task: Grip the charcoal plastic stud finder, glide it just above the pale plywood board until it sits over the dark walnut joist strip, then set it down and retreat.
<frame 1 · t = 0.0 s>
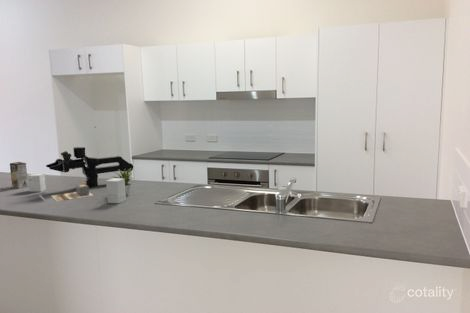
hand: (47, 167, 234), 17 cm above the worktop, tool horizontal, fingers open, 9 cm apart
stud finder: (82, 193, 230), point 1 cm above the worktop, touching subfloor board
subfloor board: (72, 197, 227), on the worktop
house plant: (125, 194, 232), on the worktop
small box: (37, 191, 245), on the worktop
supplement box: (116, 201, 216), on the worktop
coffee box: (20, 187, 257), on the worktop
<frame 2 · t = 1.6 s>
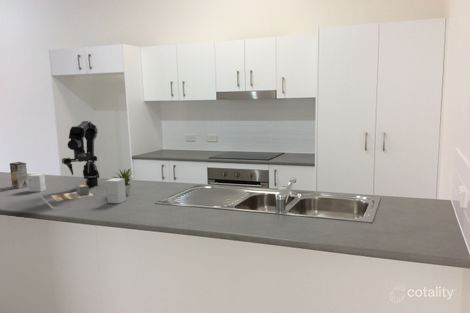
hand: (80, 174, 229), 13 cm above the worktop, tool pointing down, fingers open, 9 cm apart
nothing on the worktop moved.
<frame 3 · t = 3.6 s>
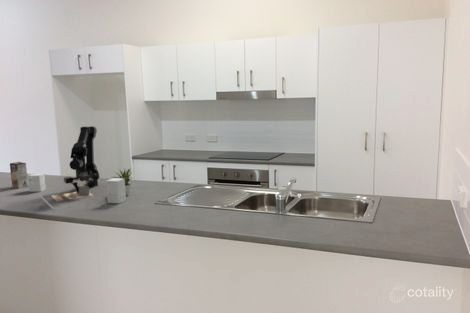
hand: (82, 192, 230), 2 cm above the worktop, tool pointing down, fingers closed on stud finder, 5 cm apart
stud finder: (82, 193, 230), point 1 cm above the worktop, touching gripper, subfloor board
everything else where it was.
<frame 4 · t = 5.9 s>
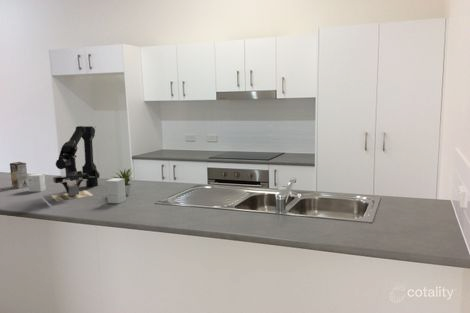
hand: (72, 192, 227), 3 cm above the worktop, tool pointing down, fingers closed on stud finder, 5 cm apart
stud finder: (72, 193, 227), point 2 cm above the worktop, touching gripper
everything else where it was.
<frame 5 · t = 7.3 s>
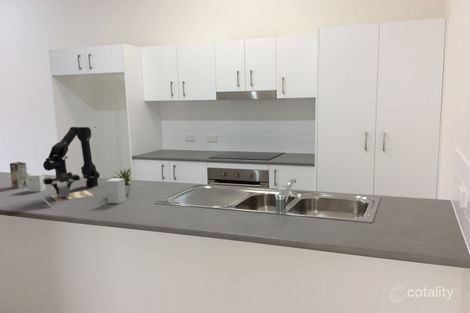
hand: (62, 193, 224), 3 cm above the worktop, tool pointing down, fingers closed on stud finder, 5 cm apart
stud finder: (63, 195, 224), point 2 cm above the worktop, touching gripper
everything else where it was.
when the fingers open (2 cm above the worktop, at t = 8.4 s): stud finder stays where it is, resting on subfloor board.
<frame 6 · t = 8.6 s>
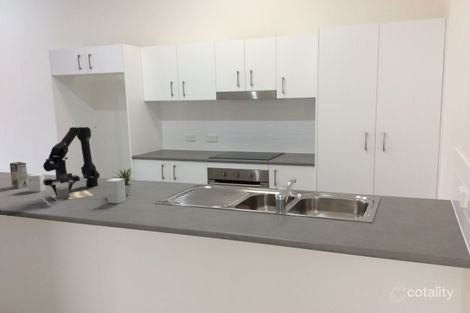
hand: (62, 194, 224), 2 cm above the worktop, tool pointing down, fingers open, 7 cm apart
stud finder: (63, 196, 224), point 1 cm above the worktop, touching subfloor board
everything else where it was.
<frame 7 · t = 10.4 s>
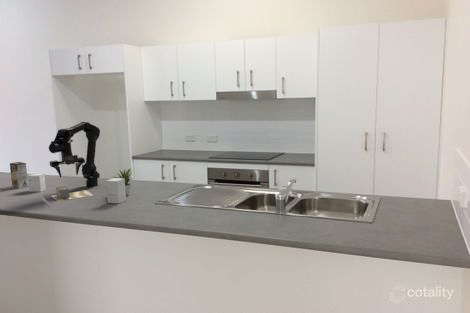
hand: (68, 176, 231), 11 cm above the worktop, tool pointing down, fingers open, 9 cm apart
nothing on the worktop moved.
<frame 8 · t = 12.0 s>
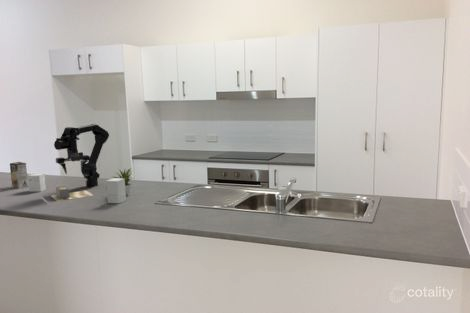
hand: (74, 173, 238), 12 cm above the worktop, tool pointing down, fingers open, 9 cm apart
nothing on the worktop moved.
at the end: stud finder 0.0 cm from the target spot, point 1.1 cm above the worktop; stud finder tilted 0°; the gripper is holding nothing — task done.
